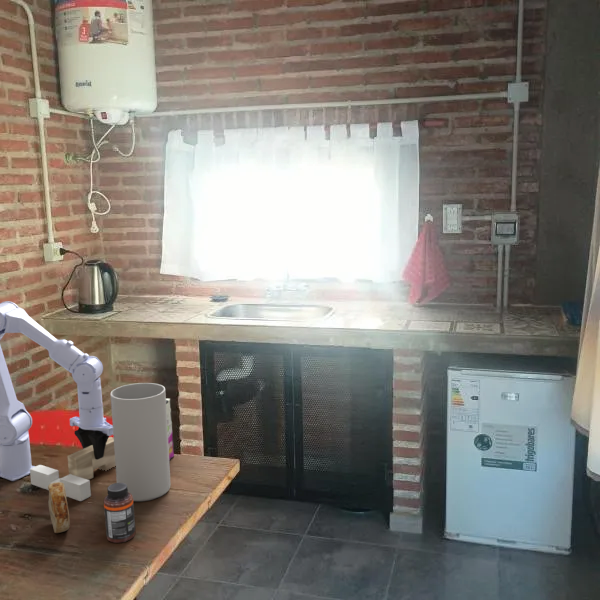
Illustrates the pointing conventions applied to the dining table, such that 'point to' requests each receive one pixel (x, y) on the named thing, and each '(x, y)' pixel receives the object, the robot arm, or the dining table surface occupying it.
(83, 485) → the white building blocks
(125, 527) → the supplement bottle
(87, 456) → the light wood plank
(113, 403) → the cylinder vase
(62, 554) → the dining table surface
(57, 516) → the toasted sandwich
